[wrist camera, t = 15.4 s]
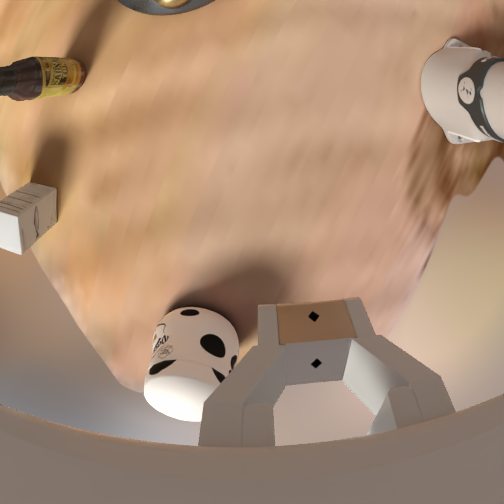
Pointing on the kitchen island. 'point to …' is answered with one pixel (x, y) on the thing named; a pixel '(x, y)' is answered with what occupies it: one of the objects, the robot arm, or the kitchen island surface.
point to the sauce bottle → (41, 78)
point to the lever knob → (172, 3)
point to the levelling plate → (145, 4)
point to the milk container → (189, 361)
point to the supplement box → (26, 216)
